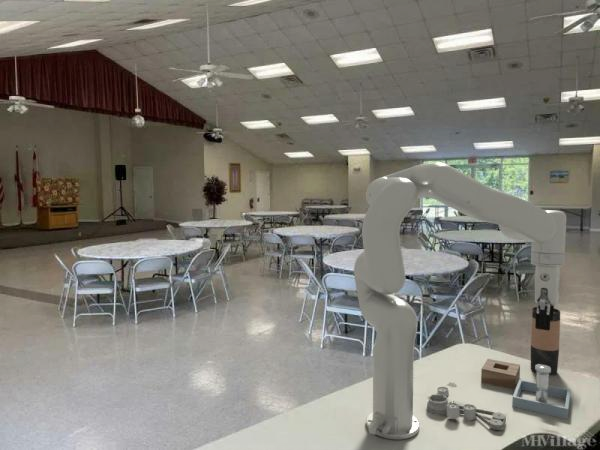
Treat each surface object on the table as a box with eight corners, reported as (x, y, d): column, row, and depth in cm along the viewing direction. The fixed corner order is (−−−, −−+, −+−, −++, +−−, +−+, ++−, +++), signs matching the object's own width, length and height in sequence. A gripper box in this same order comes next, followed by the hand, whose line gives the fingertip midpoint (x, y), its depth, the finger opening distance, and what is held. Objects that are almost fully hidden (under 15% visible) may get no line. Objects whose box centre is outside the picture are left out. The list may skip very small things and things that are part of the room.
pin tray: (567, 422, 113) (567, 409, 112) (512, 409, 119) (512, 396, 119) (569, 402, 123) (570, 389, 123) (518, 391, 130) (519, 379, 130)
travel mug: (563, 375, 140) (566, 311, 138) (546, 380, 136) (549, 314, 134) (540, 366, 146) (543, 305, 145) (524, 371, 143) (526, 308, 141)
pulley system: (462, 444, 106) (516, 429, 110) (461, 424, 106) (515, 410, 110) (402, 395, 132) (448, 385, 136) (401, 379, 132) (447, 370, 136)
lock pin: (548, 408, 119) (550, 370, 118) (533, 404, 121) (534, 367, 120) (549, 402, 122) (551, 366, 121) (534, 399, 124) (536, 363, 123)
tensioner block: (514, 392, 129) (515, 375, 128) (481, 385, 134) (481, 368, 133) (519, 381, 136) (520, 364, 136) (487, 374, 141) (487, 358, 141)
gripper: (562, 265, 108) (558, 336, 110) (566, 255, 123) (563, 318, 124) (526, 262, 112) (523, 330, 114) (534, 253, 127) (532, 313, 129)
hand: (544, 324), depth 119 cm, fingers open, 9 cm apart
